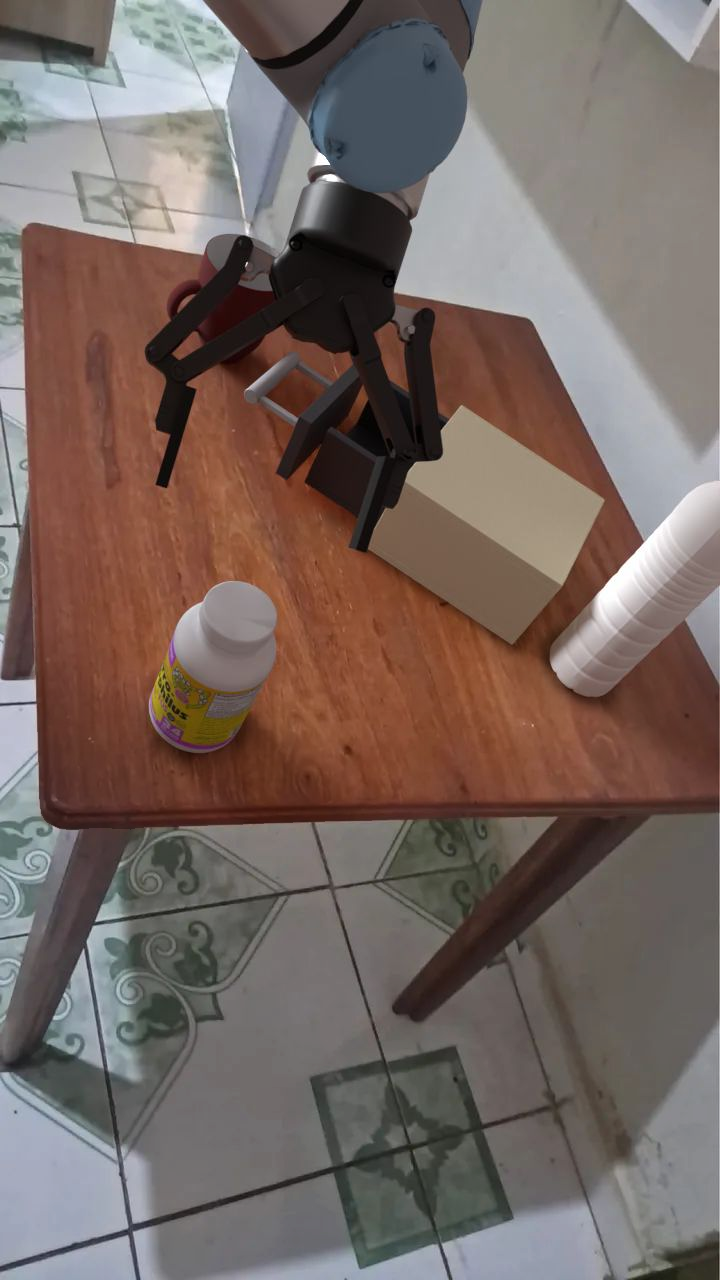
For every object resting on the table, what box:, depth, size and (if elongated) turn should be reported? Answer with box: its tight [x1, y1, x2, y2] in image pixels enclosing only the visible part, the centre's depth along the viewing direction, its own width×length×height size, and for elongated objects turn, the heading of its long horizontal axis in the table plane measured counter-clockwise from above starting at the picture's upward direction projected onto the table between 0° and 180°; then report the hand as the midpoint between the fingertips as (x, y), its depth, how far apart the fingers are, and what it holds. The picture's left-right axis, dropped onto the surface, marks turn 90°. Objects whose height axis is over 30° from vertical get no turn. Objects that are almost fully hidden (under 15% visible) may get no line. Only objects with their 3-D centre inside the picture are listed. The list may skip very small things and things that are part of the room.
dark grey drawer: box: [243, 351, 451, 527], centre depth 85 cm, size 20×12×7 cm, turn 63°
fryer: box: [367, 404, 606, 646], centre depth 85 cm, size 16×14×9 cm
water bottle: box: [549, 479, 720, 698], centre depth 75 cm, size 9×6×25 cm
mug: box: [166, 233, 281, 365], centre depth 88 cm, size 10×8×10 cm
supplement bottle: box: [148, 580, 278, 754], centre depth 63 cm, size 7×7×13 cm
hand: (261, 520), depth 63 cm, fingers open, 13 cm apart
